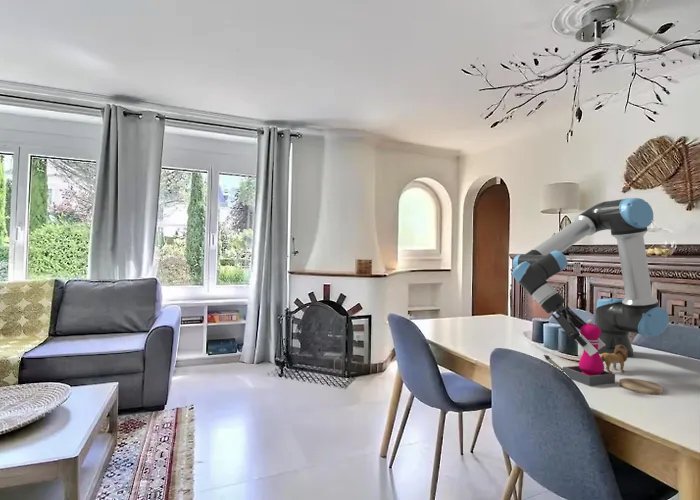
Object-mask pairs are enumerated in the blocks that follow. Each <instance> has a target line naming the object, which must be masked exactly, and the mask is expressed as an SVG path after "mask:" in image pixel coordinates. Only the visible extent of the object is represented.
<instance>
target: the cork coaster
mask: <svg viewBox="0 0 700 500" xmlns="http://www.w3.org/2000/svg"><path fill="white" fill-rule="evenodd" d="M618 384H619V386H620V387H621V388H623V389H626V390H628V391H632V392H636V393H639V394H644V395H645V394H646V395H661V394H663V392H664V391H663V389H664V388H663V386H661V385H660V384H658V383H656V382H652V381H650V380H645V379H638V378H631V377H629V378H620V379H619V382H618Z"/></svg>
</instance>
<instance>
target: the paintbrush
mask: <svg viewBox="0 0 700 500" xmlns="http://www.w3.org/2000/svg"><path fill="white" fill-rule="evenodd" d="M543 356H544V358H545V360H546V361H547V362H549V363H550V364H553V365H552V366H554V367H555V366H556V367H558V368H559V369H561V370H563V367H561V366H560V365H559V364H558V363H556V362H555V361H554V360H552V359H551V358H550V356H549V355H547V354H543ZM556 367H555V368H556ZM558 368H557V369H558ZM559 369H558V370H559Z"/></svg>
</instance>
